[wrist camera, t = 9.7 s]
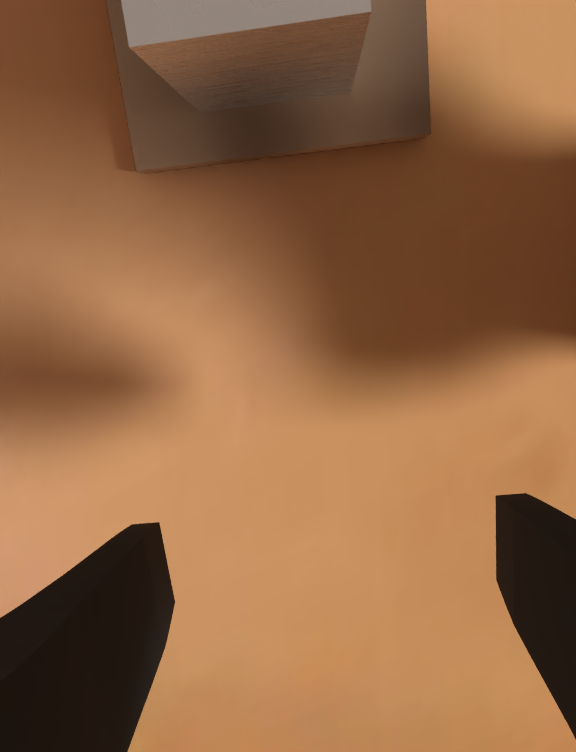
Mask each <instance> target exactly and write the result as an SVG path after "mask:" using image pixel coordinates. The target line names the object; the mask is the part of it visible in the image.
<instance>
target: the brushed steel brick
mask: <svg viewBox="0 0 576 752" xmlns="http://www.w3.org/2000/svg"><path fill="white" fill-rule="evenodd" d="M121 3H122V9H123V14H124V20H125V26H126V32H127V38H128V44H129V48H130V49H131V50H133V51H134V52H135V53H136V54H137V55H138V56H139V57H140V58H141V59H142V60H143V61H145V62H146V63H147V64H148V65H149V66H150V67H151V68H152V69H153V70H154V71H155V72H156V73H158V74H159V75H160V76H161V77H162V78H163V79H164V80H165V81H166V82H167V83H168V84H170V85H171V86H172V87H173V88H174V89H175V90H176V91H177V92H178V93H179V94H180V95H181V96H183V97H184V98H185V99H186V100H187V101H188V102H189V103H190V104H191V105H192V106H193V107H195V108H196V109H197V110H198V111H199V112H200V113H204V112H211V111H219V110H226V109H233V108H241V107H248V106H256V105H263V104H270V103H278V102H285V101H293V100H300V99H307V98H315V97H322V96H330V95H337V94H344V93H351V91H352V87H353V83H354V79H355V75H356V71H357V67H358V63H359V59H360V55H361V51H362V47H363V43H364V39H365V35H366V31H367V27H368V23H369V19H370V15H371V0H121Z"/></svg>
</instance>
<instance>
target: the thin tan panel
mask: <svg viewBox="0 0 576 752" xmlns="http://www.w3.org/2000/svg"><path fill="white" fill-rule="evenodd" d="M106 4H107V10H108V15H109V21H110V27H111V32H112V38H113V44H114V49H115V55H116V60H117V66H118V72H119V77H120V83H121V89H122V94H123V100H124V106H125V111H126V117H127V123H128V128H129V134H130V140H131V145H132V151H133V157H134V162H135V168H136V171H138V172H142V173H152V172H159V171H167V170H175V169H183V168H191V167H199V166H207V165H215V164H223V163H230V162H238V161H246V160H254V159H262V158H270V157H278V156H286V155H294V154H301V153H309V152H317V151H325V150H333V149H341V148H349V147H357V146H365V145H372V144H380V143H388V142H396V141H404V140H412V139H420V138H425V137H427V136H428V135H429V134H430V133H431V129H430V102H429V74H428V47H427V19H426V0H371V15H370V19H369V23H368V27H367V31H366V35H365V39H364V43H363V47H362V51H361V55H360V59H359V63H358V67H357V71H356V75H355V79H354V83H353V87H352V91H351V93H344V94H337V95H330V96H322V97H315V98H307V99H300V100H293V101H285V102H278V103H270V104H263V105H256V106H248V107H241V108H233V109H226V110H219V111H211V112H204V113H200V112H199V111H198V110H197V109H196V108H195V107H193V106H192V105H191V104H190V103H189V102H188V101H187V100H186V99H185V98H184V97H183V96H181V95H180V94H179V93H178V92H177V91H176V90H175V89H174V88H173V87H172V86H171V85H170V84H168V83H167V82H166V81H165V80H164V79H163V78H162V77H161V76H160V75H159V74H158V73H156V72H155V71H154V70H153V69H152V68H151V67H150V66H149V65H148V64H147V63H146V62H145V61H143V60H142V59H141V58H140V57H139V56H138V55H137V54H136V53H135V52H134V51H133V50H131V49H130V48H129V44H128V38H127V32H126V26H125V20H124V14H123V9H122V3H121V0H106Z"/></svg>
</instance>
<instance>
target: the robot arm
mask: <svg viewBox="0 0 576 752" xmlns="http://www.w3.org/2000/svg"><path fill="white" fill-rule="evenodd" d="M496 580H497V583H498V585H499V588H500V591H501V593H502V596H503V599H504V601H505V604H506V607H507V609H508V612H509V614H510V617H511V619H512V621H513V624H514V626H515V628H516V630H517V632H518V634H519V635H520V637H521V639H522V641H523V643H524V645H525V647H526V648H527V650H528V652H529V654H530V656H531V658H532V660H533V661H534V663H535V665H536V667H537V669H538V671H539V672H540V674H541V676H542V678H543V680H544V681H545V683H546V685H547V687H548V689H549V691H550V692H551V694H552V696H553V698H554V700H555V701H556V703H557V705H558V707H559V709H560V711H561V712H562V714H563V716H564V718H565V720H566V722H567V723H568V725H569V727H570V729H571V731H572V733H573V735H574V737H575V739H576V519H574V518H572V517H570V516H569V515H567V514H565V513H563V512H561V511H559V510H558V509H556V508H554V507H552V506H550V505H548V504H547V503H545V502H543V501H541V500H539V499H537V498H535V497H533V496H531V495H528V494H526V493H523V494H511V495H498V496H496ZM174 604H175V600H174V595H173V590H172V585H171V580H170V575H169V570H168V565H167V559H166V554H165V549H164V544H163V539H162V534H161V529H160V524H159V522H158V523H145V524H133V525H131V526H129V527H127V528H126V529H124V530H123V531H121V532H120V533H118V534H117V535H116V536H114V537H113V538H112V539H110V540H109V541H108V542H106V543H105V544H104V545H102V546H101V547H100V548H98V549H97V550H96V551H94V552H93V553H92V554H90V555H89V556H88V557H87V558H85V559H84V560H83V561H81V562H80V563H79V564H77V565H76V566H75V567H73V568H72V569H71V570H69V571H68V572H67V573H65V574H64V575H63V576H61V577H60V578H58V579H57V580H56V581H54V582H53V583H51V584H50V585H48V586H47V587H46V588H44V589H43V590H41V591H40V592H38V593H37V594H36V595H34V596H33V597H31V598H30V599H29V600H27V601H26V602H24V603H23V604H21V605H20V606H18V607H17V608H15V609H14V610H12V611H11V612H9V613H7V614H6V615H4V616H3V617H1V618H0V752H127V751H128V748H129V746H130V743H131V740H132V737H133V735H134V732H135V729H136V726H137V724H138V721H139V718H140V716H141V713H142V710H143V707H144V705H145V702H146V699H147V696H148V694H149V691H150V688H151V685H152V683H153V680H154V677H155V674H156V672H157V669H158V666H159V663H160V660H161V657H162V655H163V652H164V649H165V645H166V641H167V637H168V633H169V628H170V624H171V619H172V614H173V609H174Z"/></svg>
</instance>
